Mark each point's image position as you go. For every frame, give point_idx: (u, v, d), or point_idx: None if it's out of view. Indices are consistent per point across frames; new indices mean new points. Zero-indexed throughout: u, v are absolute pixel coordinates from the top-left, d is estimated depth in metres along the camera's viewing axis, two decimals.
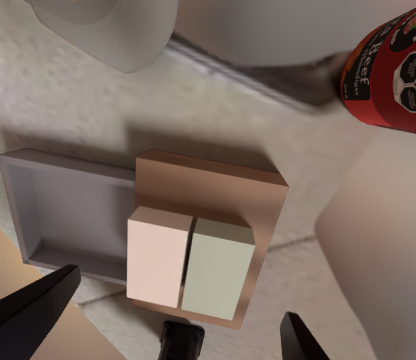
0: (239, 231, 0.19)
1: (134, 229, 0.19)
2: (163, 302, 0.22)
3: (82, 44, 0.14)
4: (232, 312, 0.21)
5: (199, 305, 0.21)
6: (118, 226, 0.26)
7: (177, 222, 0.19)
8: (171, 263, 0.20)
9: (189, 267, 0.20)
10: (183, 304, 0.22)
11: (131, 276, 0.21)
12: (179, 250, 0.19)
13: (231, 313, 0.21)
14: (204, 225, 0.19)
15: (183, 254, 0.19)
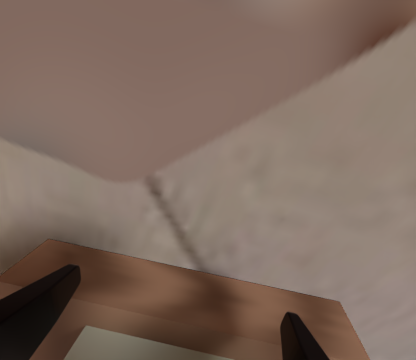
0: None
1: None
2: None
3: None
4: None
5: None
6: None
7: None
8: None
9: None
10: None
11: None
12: None
13: None
14: None
15: None
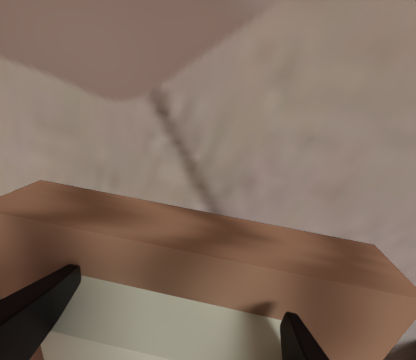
0: None
1: None
2: None
3: None
4: None
5: None
6: None
7: None
8: None
9: None
10: None
11: None
12: None
13: None
14: None
15: None
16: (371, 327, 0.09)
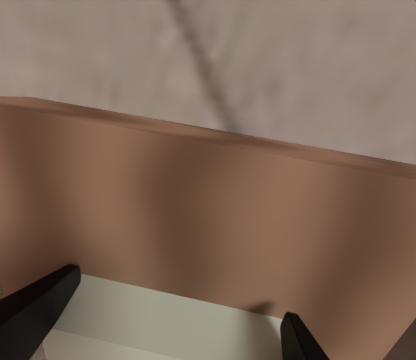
0: None
1: None
2: None
3: None
4: None
5: None
6: None
7: None
8: None
9: None
10: None
11: None
12: None
13: None
14: None
15: None
16: None
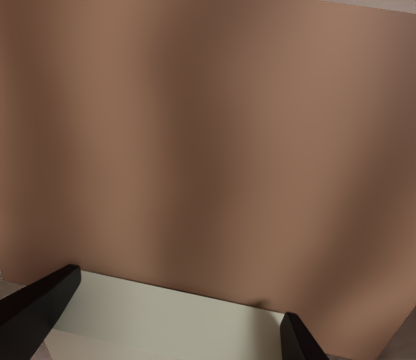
0: None
1: None
2: None
3: None
4: None
5: None
6: None
7: None
8: None
9: None
10: None
11: None
12: None
13: None
14: None
15: None
16: None
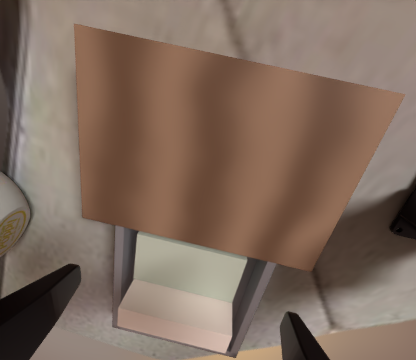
0: None
1: None
2: None
3: None
4: (233, 258, 0.18)
5: (223, 286, 0.19)
6: None
7: None
8: None
9: (173, 287, 0.20)
10: (224, 300, 0.20)
11: None
12: None
13: (234, 260, 0.18)
14: None
15: (145, 332, 0.19)
16: (363, 125, 0.13)
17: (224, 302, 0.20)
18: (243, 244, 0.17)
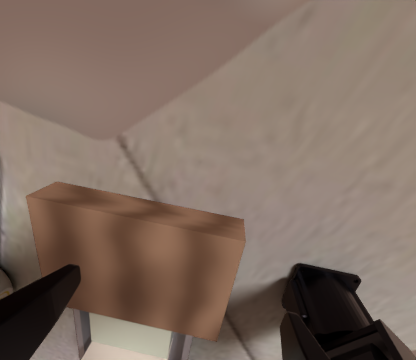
0: None
1: None
2: None
3: None
4: (161, 330, 0.24)
5: (158, 348, 0.25)
6: None
7: None
8: None
9: (121, 347, 0.26)
10: (161, 357, 0.26)
11: None
12: None
13: (162, 331, 0.24)
14: None
15: None
16: (224, 257, 0.18)
17: (161, 359, 0.26)
18: (164, 323, 0.23)
